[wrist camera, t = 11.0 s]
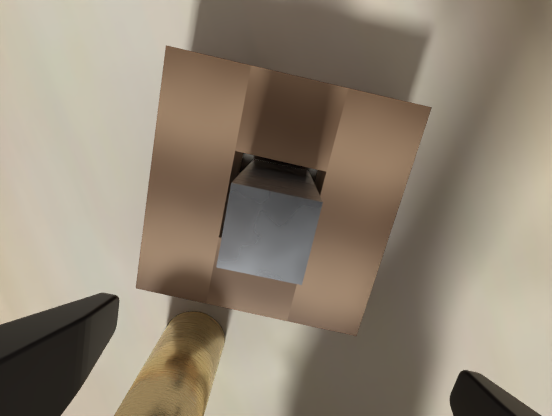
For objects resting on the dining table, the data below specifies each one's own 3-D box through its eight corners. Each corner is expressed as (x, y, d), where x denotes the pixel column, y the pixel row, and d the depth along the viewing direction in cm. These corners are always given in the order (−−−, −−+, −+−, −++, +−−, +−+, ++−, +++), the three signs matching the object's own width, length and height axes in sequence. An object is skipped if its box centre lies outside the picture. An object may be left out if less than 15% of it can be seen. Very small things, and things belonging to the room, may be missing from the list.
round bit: (219, 368, 23) (183, 496, 15) (161, 356, 22) (95, 478, 15) (229, 318, 22) (197, 427, 14) (169, 305, 21) (103, 408, 14)
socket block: (345, 301, 21) (356, 336, 18) (160, 261, 21) (135, 288, 17) (404, 110, 18) (431, 107, 15) (189, 60, 18) (166, 45, 14)
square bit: (296, 222, 20) (301, 285, 12) (244, 210, 20) (216, 267, 12) (308, 170, 19) (322, 202, 11) (254, 158, 19) (231, 182, 11)
